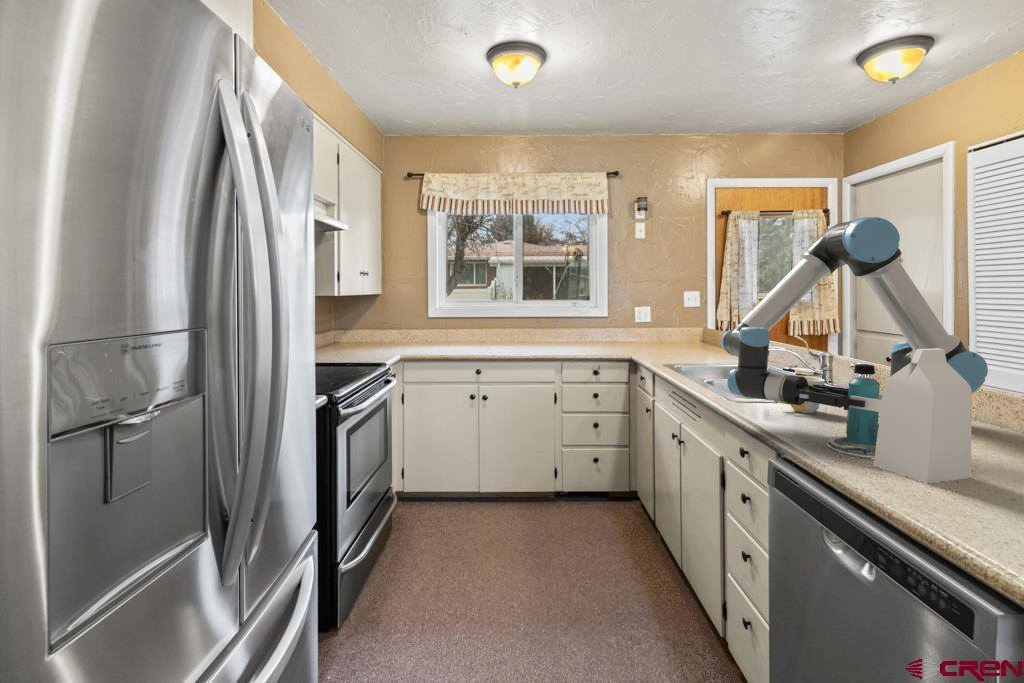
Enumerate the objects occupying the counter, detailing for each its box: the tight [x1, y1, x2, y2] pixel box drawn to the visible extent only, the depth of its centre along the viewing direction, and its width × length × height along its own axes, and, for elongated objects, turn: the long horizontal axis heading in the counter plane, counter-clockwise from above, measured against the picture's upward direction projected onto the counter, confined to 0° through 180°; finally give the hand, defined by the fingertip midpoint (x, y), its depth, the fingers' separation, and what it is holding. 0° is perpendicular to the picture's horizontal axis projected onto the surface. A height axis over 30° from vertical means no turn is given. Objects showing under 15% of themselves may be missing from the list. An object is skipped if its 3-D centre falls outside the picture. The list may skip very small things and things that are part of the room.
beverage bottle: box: [845, 363, 881, 445], centre depth 129 cm, size 6×7×20 cm
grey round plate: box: [826, 436, 876, 459], centre depth 129 cm, size 14×14×1 cm
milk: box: [873, 348, 973, 484], centre depth 113 cm, size 12×12×26 cm
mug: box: [778, 375, 826, 414], centre depth 170 cm, size 14×10×10 cm
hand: (888, 403), depth 124 cm, fingers open, 7 cm apart
